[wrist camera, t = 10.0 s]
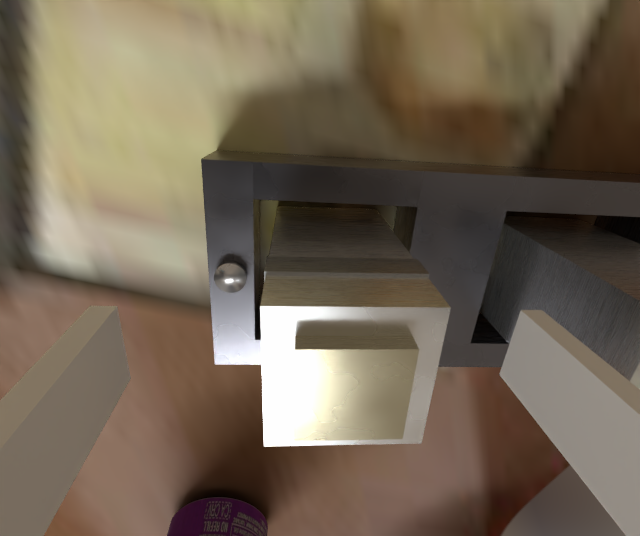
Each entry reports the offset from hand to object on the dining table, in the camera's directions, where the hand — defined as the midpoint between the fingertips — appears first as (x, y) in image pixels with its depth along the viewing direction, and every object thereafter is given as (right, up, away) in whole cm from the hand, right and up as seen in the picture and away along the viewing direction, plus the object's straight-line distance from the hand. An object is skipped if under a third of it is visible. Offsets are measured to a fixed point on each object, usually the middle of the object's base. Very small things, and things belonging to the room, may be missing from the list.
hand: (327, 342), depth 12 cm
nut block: (0, +3, +8) cm, 8 cm away
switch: (+6, +3, +8) cm, 10 cm away
